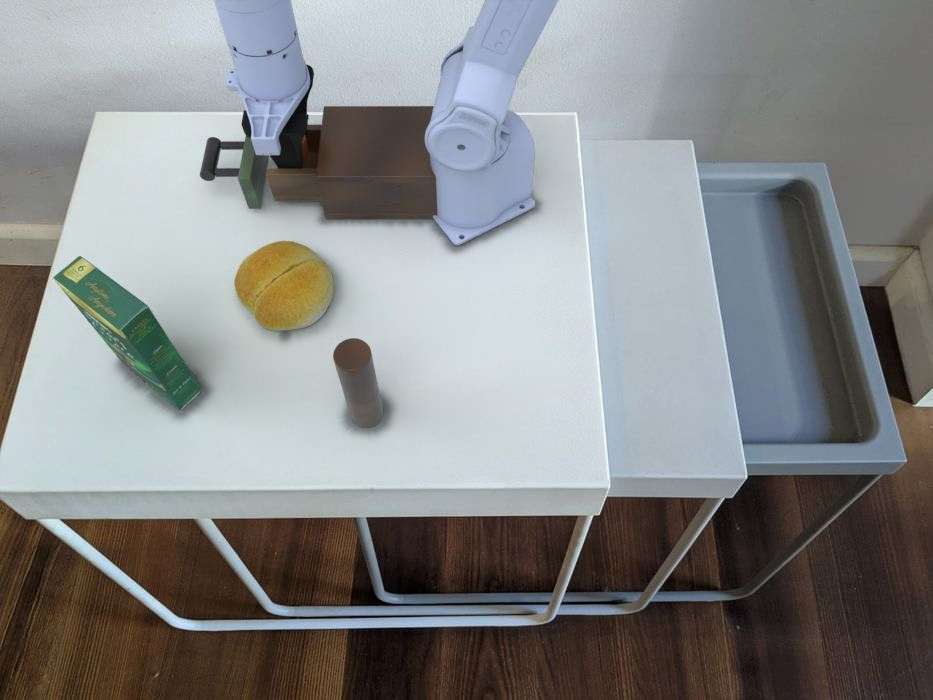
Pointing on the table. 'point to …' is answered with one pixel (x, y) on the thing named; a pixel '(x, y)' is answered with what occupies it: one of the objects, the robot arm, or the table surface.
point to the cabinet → (376, 163)
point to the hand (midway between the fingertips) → (293, 153)
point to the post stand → (359, 382)
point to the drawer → (266, 171)
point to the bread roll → (284, 285)
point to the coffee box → (129, 331)
